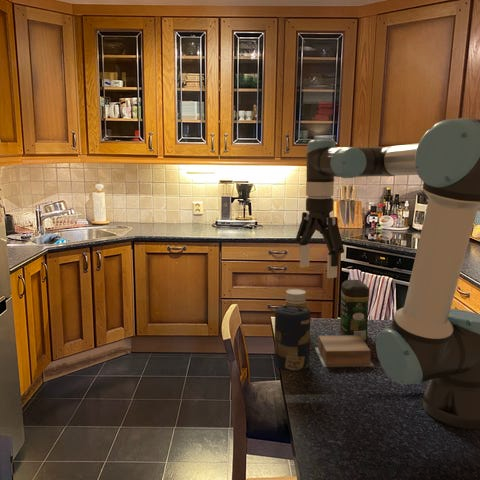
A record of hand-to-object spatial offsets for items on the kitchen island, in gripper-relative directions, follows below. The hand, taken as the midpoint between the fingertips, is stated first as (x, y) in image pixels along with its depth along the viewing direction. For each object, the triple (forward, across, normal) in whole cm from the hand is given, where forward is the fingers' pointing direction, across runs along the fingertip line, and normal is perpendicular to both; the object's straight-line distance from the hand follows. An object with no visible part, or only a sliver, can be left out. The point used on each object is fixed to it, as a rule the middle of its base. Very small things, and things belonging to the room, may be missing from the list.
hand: (317, 272), depth 137 cm
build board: (+24, -8, -2) cm, 26 cm away
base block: (+23, -8, -4) cm, 25 cm away
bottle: (+24, +13, -1) cm, 28 cm away
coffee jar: (+24, +4, -17) cm, 30 cm away
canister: (+25, -6, +12) cm, 28 cm away
